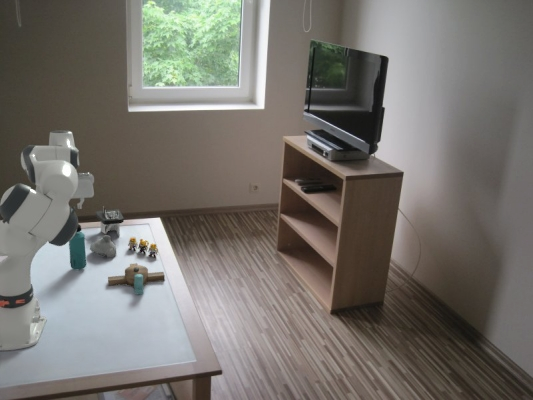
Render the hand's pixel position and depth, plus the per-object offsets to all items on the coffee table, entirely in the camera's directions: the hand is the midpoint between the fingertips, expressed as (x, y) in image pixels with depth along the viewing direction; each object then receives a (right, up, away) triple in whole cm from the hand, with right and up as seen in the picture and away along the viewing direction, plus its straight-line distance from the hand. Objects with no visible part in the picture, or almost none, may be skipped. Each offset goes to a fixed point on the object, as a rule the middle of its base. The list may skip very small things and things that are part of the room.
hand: (66, 209), depth 213 cm
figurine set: (+19, -21, +44) cm, 52 cm away
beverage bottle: (-4, -26, +26) cm, 37 cm away
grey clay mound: (+3, -21, +40) cm, 45 cm away
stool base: (+21, -28, +22) cm, 42 cm away
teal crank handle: (+24, -32, +12) cm, 42 cm away
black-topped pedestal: (0, -13, +60) cm, 62 cm away
